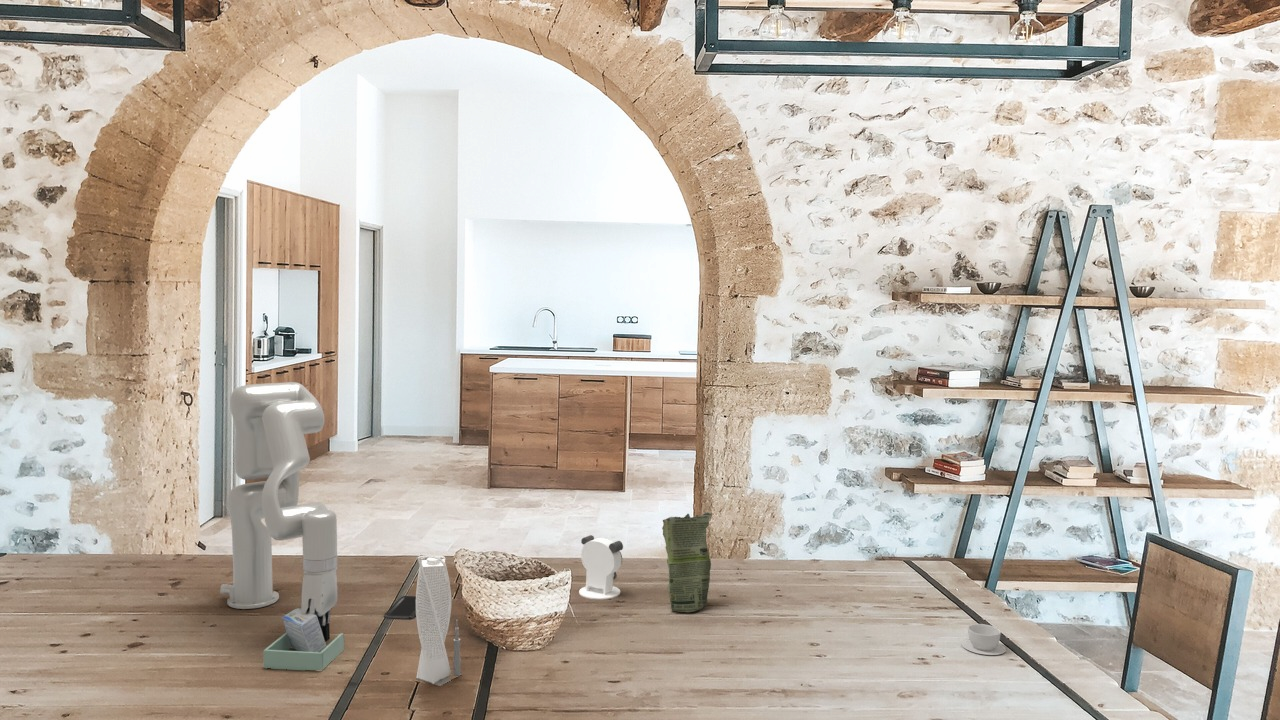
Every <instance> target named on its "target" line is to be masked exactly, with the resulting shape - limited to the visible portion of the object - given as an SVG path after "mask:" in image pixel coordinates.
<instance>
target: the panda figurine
mask: <svg viewBox="0 0 1280 720" xmlns="http://www.w3.org/2000/svg"><path fill="white" fill-rule="evenodd" d="M580 542H581V544H582V545H583V547H582V549H581V553H580V558H581V563H582V566H583V567H584V569H585V574H586V575H585V576H586V577H585V586H583V587H581V588H580V589H579V591H578V594H579V595H580V596H581V597H583V598H585V599H591V600H609V599H613V598H616V597H618V596H620V594H621V589H620V588H618V587H617V586H615V585H614V581H615V580H616V579H617V576H618V574H617V571H619V569H620V568H621V565H622V564H623V555H622V552H621V551H622V550H623V549H624V544H623V543H622V541H620V540H617V541H612V540H610V539H607V538H604V537H603V538H602V537H597V538H595V536H594V535H591V534H590V535H587V536H585V537H583V538H581V541H580Z"/></svg>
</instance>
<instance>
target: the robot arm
mask: <svg viewBox="0 0 1280 720" xmlns="http://www.w3.org/2000/svg"><path fill="white" fill-rule="evenodd" d="M229 406H230V408H229V409H230V412H231V416H232V419H233V422H234V425H235V426H234V427H235V441H234V444H235V445H234V469H235V474H236V476H237V477H238V478H239V479H241V480H246V481H252V480H253V481H254V480H262V479H266V480H264V481H256V482H247V483H242V484H239V485H237V486H235V487H233V488H232V489H231V490H230V491H229V492H228V493H227V494H228V495H227V501H226V502H227V510H228V513H229V517H230V526H231V541H232V543H231V544H232V577H233V579H232V581H233V582H232V584H228V583H222V584H221V585H220V590H219V593H220V594H221V595H227V594H228V595H229V597H228V598H227V601H226V602H227V605H228V606H229V607H230V608H232V609H238V610H240V609H241V610H251V609H252V610H253V609H261V608H263V607H268V606H271V605H273V604H275V603H276V602H278V600H279V599H280V594H279V592H277V591H275V590H273V589H274V588H273V552H272V550H273V548H272V545H273V544H272V543H273V542H272V539H273V540H275V541H287V540H292V539H297V538H302V569H303V570H302V571H303V579H302V584H301V606H300V609H301V614H306V612H309V614H314V615H316V616H317V618H318V621H319V624H320V627H321V630H322V634H323V637H324V640H325V643H326V642H327V641H329V640H330V638H331V637H330V634H331V633H330V632H331V631H330V621H331V611H332V609H333V608H334V607H335V605H336V604H337V603H338V578H337V570H338V532H337V531H338V525H337V524H338V523H337V520H338V519H337V514H336V512H335V511H334V510H331V509H328V508H327V506H325V505H324V504H323V503H321V502H310V503H304V504H298V502H299V496H300V495H299V494H300V492H299V491H300V490H299V489H300V488H299V487H300V471H301V470H303V469H304V468H305V467H307V466H308V465H309V463H310V462H311V461H310V460H311V458H310V453H309V449H308V447H307V441H306V438H305V435H307V434H308V435H309V434H317V433H319V432H321V431H322V430H323V428H324V425H325V422H326V421H325V413H324V410H323V407H322V406H321V403H320V402H319V401H318V399H317V398H316V397H315V396H314V394H312V393H311V391H309V390H308V389H307V387H305V386H304V385H303V384H302V383H300V382H296V381H294V382H293V381H287V382H285V381H284V382H273V383H272V382H270V383H269V382H268V383H267V382H265V383H252V384H245V385H240V386H238V387H236V388H234V390H233V391H232V393H231V395H230V399H229ZM263 519H264V522H265V524H264V523H263V522H262V520H263Z"/></svg>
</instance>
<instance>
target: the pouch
mask: <svg viewBox="0 0 1280 720" xmlns="http://www.w3.org/2000/svg"><path fill="white" fill-rule="evenodd" d="M710 517H712V513H709V511H707V512H705V513H702V514H701V515H695V516H692V517H691V516H690V513H687V514H686V515H684V516H683V517H681V516H669V517H667V518H664V519H662V523H663V526H662V527H661V529H662V536H663V538H664V543H665V551H666V554H667V559H666V563H667V568H668V584H667V590H668V591H667V592H668V597H669V603H670V609H671V611H673V612H679V613H682V612H683V613H693V612H696V611H700V610H702V609H703V608H704V607H705V606H708V595H709V587H710V580H711V577H710V576H711V568H712V567H711V566H712V563H711V558H710V554H709V548H708V544H707V529H708V527H709V526H710Z"/></svg>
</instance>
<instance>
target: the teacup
mask: <svg viewBox="0 0 1280 720" xmlns="http://www.w3.org/2000/svg"><path fill="white" fill-rule="evenodd" d="M1001 633H1002V631H1001V630H1000V629H999V628H998V627H996V626H993V625H990V624H985V623H984V624H983V623H973V624H970V625H968V626H967V635H968V637H967V638H968V639H964V640H962V641H961V646H962V648H964V649H965V650H967V651H970V652H972V653H975V654H980V655H985V656H997V655H1002V654H1004V653H1005V652H1006V651H1007V648H1006V647H1005V646H1004V645H1002V644H1001V643H1000V640H1001Z"/></svg>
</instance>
